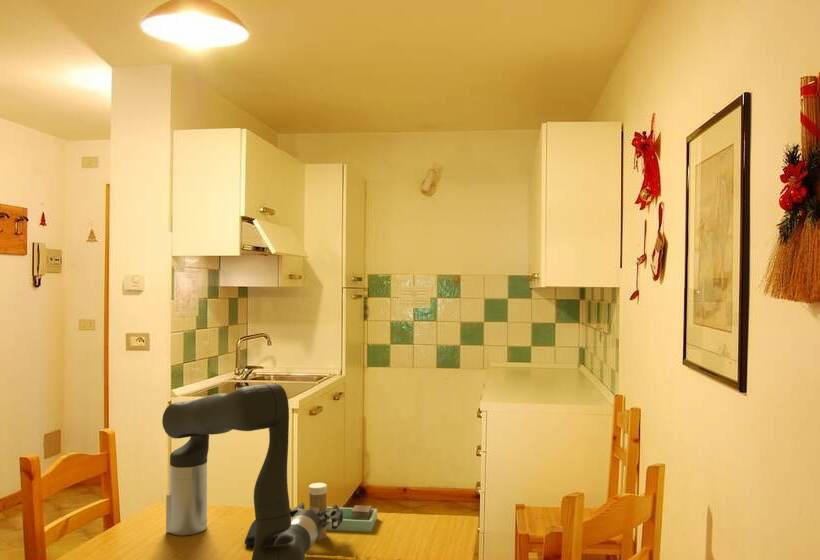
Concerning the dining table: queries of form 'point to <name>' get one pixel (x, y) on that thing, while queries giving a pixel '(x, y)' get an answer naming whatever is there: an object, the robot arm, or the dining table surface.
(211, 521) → the dining table surface
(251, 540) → the carrying case or bag
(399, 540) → the dining table surface
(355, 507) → the copper block
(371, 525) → the tray
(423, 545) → the dining table surface
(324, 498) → the sprinkles bottle
